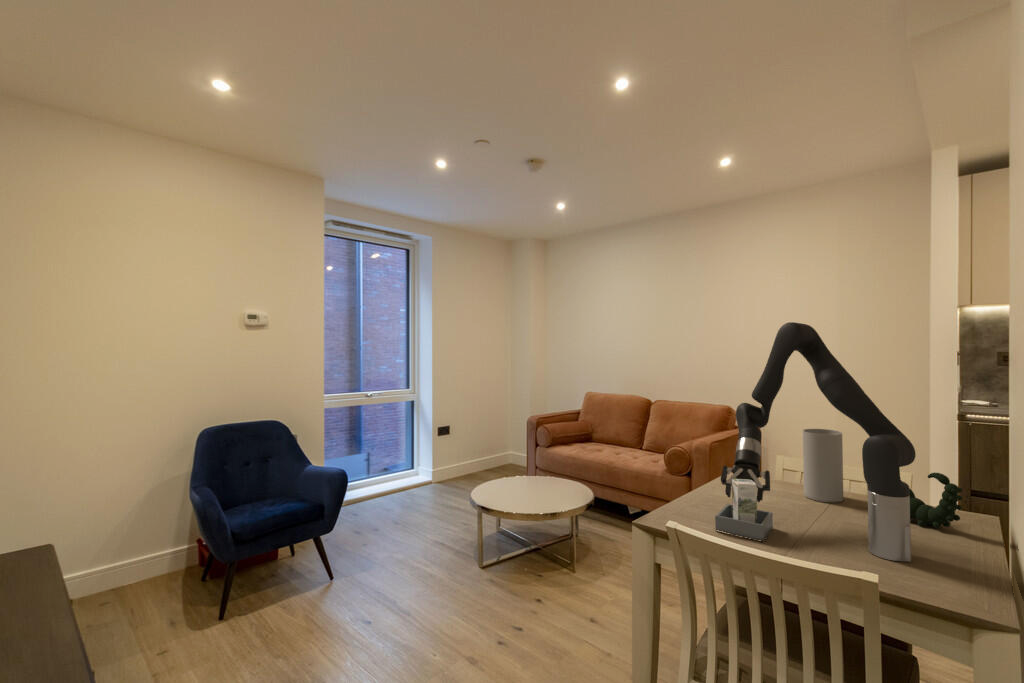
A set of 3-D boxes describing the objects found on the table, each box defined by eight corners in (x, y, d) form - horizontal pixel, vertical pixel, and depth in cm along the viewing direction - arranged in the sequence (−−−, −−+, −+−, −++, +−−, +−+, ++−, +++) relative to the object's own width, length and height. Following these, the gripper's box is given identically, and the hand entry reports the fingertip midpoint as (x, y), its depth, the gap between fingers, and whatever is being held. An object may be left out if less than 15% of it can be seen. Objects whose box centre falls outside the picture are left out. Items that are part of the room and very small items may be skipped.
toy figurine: (965, 538, 146) (882, 504, 170) (971, 478, 145) (886, 452, 169) (943, 542, 144) (862, 507, 168) (949, 481, 142) (866, 454, 166)
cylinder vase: (796, 494, 184) (794, 430, 184) (820, 491, 188) (819, 427, 188) (826, 505, 172) (824, 435, 172) (851, 501, 176) (850, 433, 176)
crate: (772, 528, 152) (772, 512, 152) (763, 542, 142) (763, 525, 142) (727, 518, 161) (727, 503, 161) (715, 531, 150) (715, 515, 150)
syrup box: (751, 523, 154) (750, 478, 154) (757, 530, 148) (756, 483, 148) (732, 522, 155) (731, 478, 155) (738, 529, 149) (737, 483, 149)
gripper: (723, 446, 162) (717, 488, 152) (771, 450, 154) (767, 496, 144) (726, 458, 166) (720, 500, 157) (773, 463, 158) (769, 508, 149)
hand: (743, 498), depth 151 cm, fingers open, 8 cm apart
